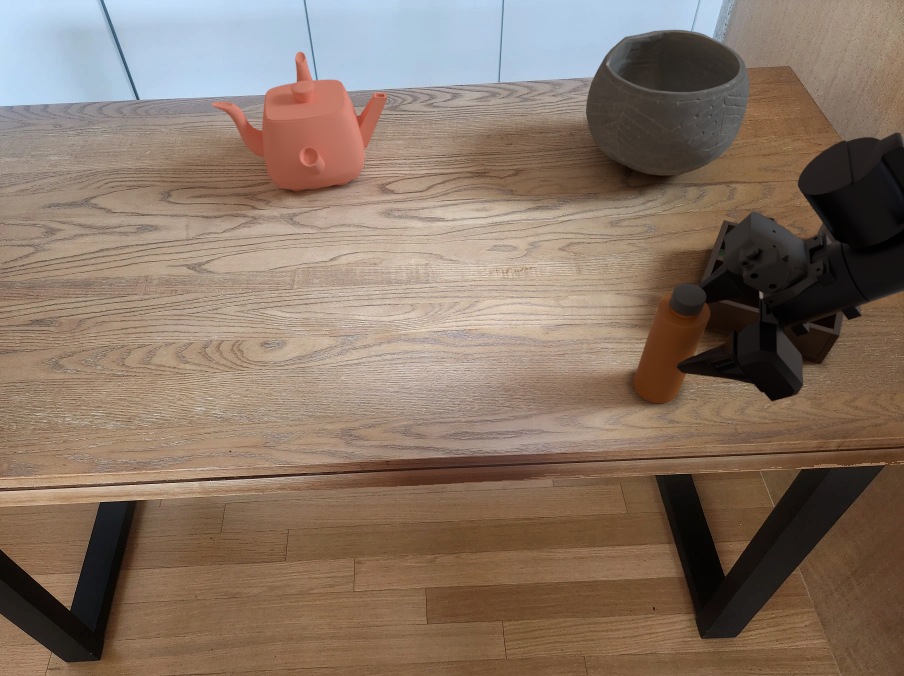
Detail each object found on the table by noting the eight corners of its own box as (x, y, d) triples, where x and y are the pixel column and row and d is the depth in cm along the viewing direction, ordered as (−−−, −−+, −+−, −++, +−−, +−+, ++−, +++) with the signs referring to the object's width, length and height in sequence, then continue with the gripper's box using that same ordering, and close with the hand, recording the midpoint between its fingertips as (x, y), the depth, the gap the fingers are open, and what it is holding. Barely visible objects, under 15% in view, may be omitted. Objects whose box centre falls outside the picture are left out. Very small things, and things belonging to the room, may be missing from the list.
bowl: (744, 198, 92) (785, 95, 81) (591, 206, 93) (610, 105, 82) (701, 117, 105) (731, 18, 94) (568, 124, 107) (581, 28, 95)
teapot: (234, 182, 103) (208, 97, 92) (313, 126, 111) (298, 43, 101) (321, 222, 95) (303, 134, 84) (399, 159, 104) (392, 72, 93)
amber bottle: (683, 377, 73) (721, 285, 63) (672, 409, 71) (710, 319, 60) (640, 363, 75) (670, 271, 64) (627, 394, 73) (657, 303, 62)
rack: (837, 279, 81) (855, 250, 78) (821, 363, 73) (840, 335, 70) (713, 248, 86) (723, 219, 83) (685, 323, 78) (696, 295, 75)
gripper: (805, 138, 57) (644, 222, 69) (816, 283, 46) (623, 354, 58) (863, 225, 62) (703, 290, 73) (886, 376, 51) (693, 426, 62)
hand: (682, 334), depth 66 cm, fingers open, 9 cm apart
